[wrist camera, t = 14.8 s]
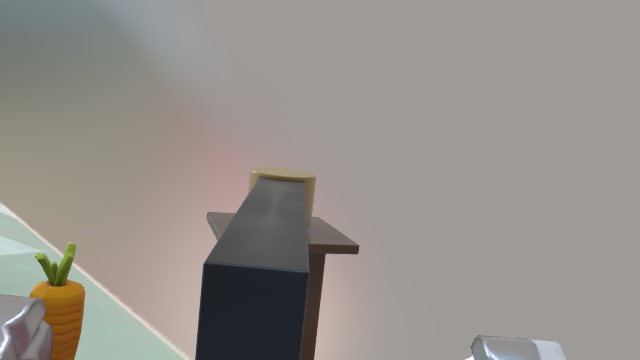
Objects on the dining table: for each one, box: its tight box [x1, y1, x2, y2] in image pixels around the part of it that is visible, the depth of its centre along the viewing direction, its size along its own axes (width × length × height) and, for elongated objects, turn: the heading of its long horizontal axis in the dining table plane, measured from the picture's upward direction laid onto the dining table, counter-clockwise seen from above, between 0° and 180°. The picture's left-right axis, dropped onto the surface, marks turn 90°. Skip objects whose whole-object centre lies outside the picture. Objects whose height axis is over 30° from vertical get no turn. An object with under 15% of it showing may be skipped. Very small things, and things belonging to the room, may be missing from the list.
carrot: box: [29, 243, 85, 360], centre depth 53 cm, size 5×5×15 cm
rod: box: [195, 168, 316, 360], centre depth 22 cm, size 20×4×3 cm, turn 2°
